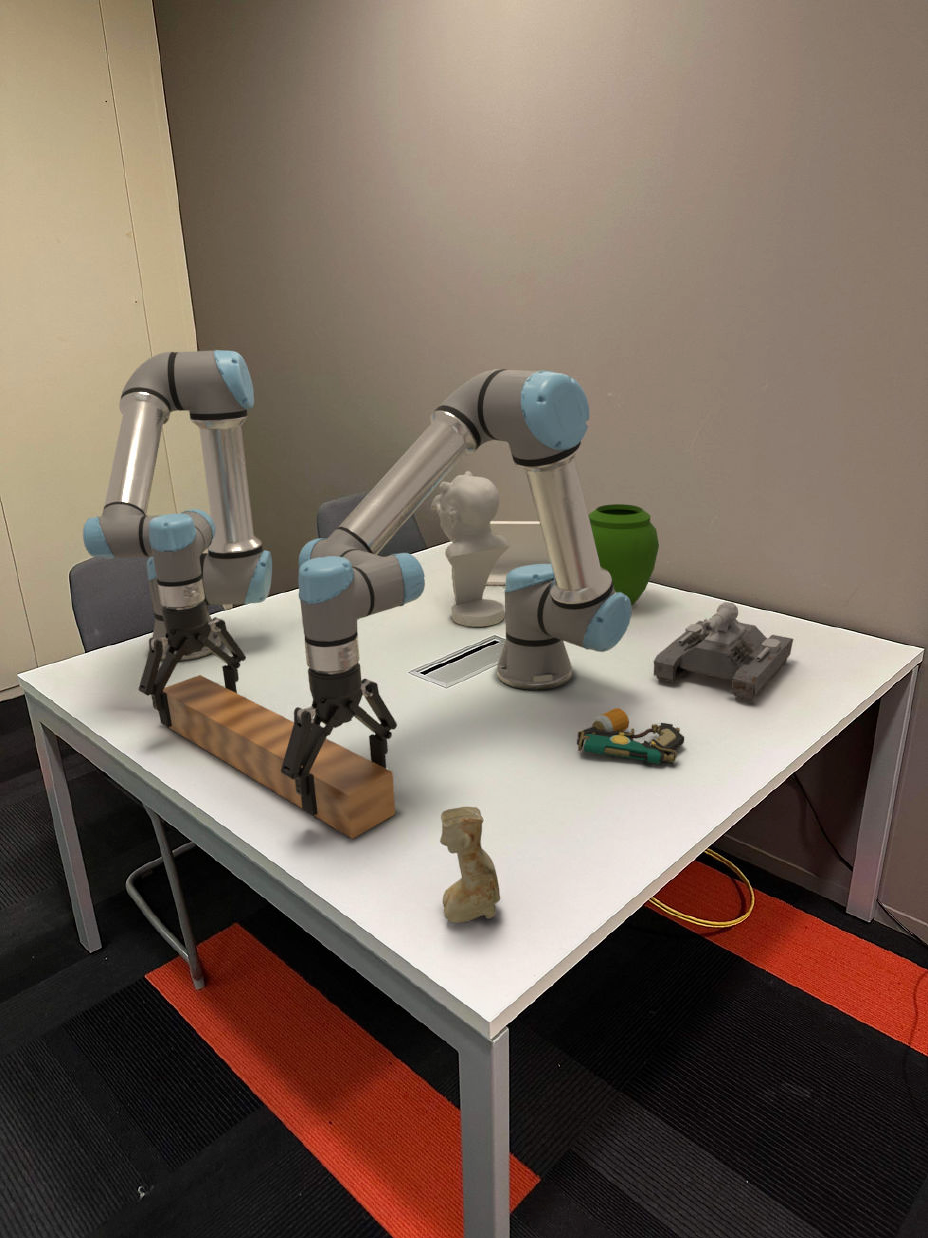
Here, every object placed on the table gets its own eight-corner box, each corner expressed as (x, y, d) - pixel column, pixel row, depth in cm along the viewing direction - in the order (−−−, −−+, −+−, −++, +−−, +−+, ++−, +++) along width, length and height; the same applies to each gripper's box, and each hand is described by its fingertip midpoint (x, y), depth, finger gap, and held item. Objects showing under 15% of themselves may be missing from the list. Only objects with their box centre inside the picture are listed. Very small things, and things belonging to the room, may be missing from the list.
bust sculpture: (473, 592, 226) (469, 460, 213) (521, 620, 206) (520, 475, 193) (418, 603, 219) (411, 467, 206) (462, 633, 199) (458, 484, 187)
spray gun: (691, 743, 149) (661, 786, 137) (602, 717, 157) (567, 755, 145) (694, 722, 147) (663, 764, 135) (604, 696, 155) (568, 734, 143)
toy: (698, 641, 190) (703, 577, 185) (791, 660, 179) (798, 592, 174) (652, 682, 171) (655, 612, 166) (752, 706, 160) (759, 632, 155)
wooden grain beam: (164, 725, 160) (158, 689, 157) (205, 709, 166) (200, 674, 163) (352, 839, 124) (348, 795, 122) (395, 814, 130) (392, 771, 128)
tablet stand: (569, 585, 229) (570, 524, 223) (476, 584, 232) (475, 523, 226) (570, 566, 246) (571, 508, 240) (484, 564, 249) (483, 507, 243)
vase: (599, 587, 227) (601, 497, 218) (668, 600, 216) (673, 505, 208) (562, 608, 212) (564, 513, 204) (634, 623, 202) (639, 523, 193)
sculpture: (441, 900, 111) (436, 801, 106) (496, 895, 112) (494, 796, 106) (445, 931, 105) (440, 828, 100) (503, 925, 106) (501, 823, 101)
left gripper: (126, 628, 139) (147, 743, 147) (256, 589, 156) (268, 694, 163) (105, 618, 144) (126, 729, 151) (233, 581, 161) (246, 683, 168)
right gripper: (276, 702, 112) (293, 838, 119) (414, 644, 129) (421, 767, 136) (244, 686, 117) (262, 818, 124) (381, 633, 133) (390, 752, 141)
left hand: (200, 711), depth 157 cm, fingers open, 13 cm apart
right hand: (345, 792), depth 130 cm, fingers open, 13 cm apart
